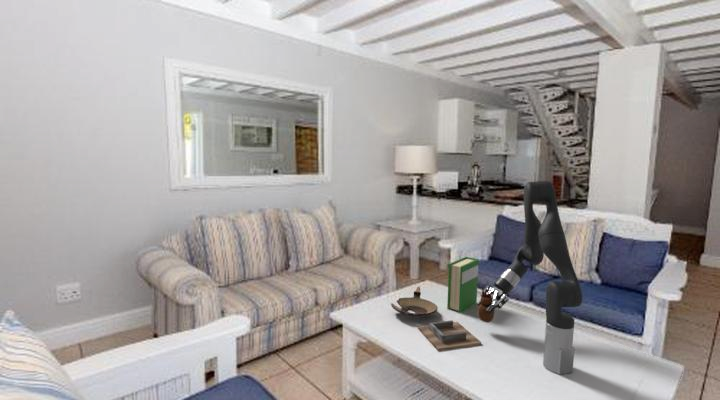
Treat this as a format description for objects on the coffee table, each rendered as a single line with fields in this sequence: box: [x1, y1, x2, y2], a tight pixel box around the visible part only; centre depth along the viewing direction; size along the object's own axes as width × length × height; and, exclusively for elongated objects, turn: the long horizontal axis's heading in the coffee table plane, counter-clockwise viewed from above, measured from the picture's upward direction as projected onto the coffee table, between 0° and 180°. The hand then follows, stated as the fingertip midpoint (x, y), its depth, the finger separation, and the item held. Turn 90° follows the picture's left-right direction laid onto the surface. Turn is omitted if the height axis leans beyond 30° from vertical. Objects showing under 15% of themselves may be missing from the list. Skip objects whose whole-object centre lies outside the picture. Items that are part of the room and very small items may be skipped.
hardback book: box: [446, 256, 480, 314], centre depth 199 cm, size 18×7×24 cm, turn 137°
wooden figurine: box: [477, 287, 495, 323], centre depth 171 cm, size 7×6×15 cm
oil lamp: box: [390, 286, 438, 318], centre depth 193 cm, size 22×30×8 cm
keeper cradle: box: [417, 319, 482, 352], centre depth 168 cm, size 20×20×4 cm
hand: (483, 309), depth 171 cm, fingers closed on wooden figurine, 6 cm apart
